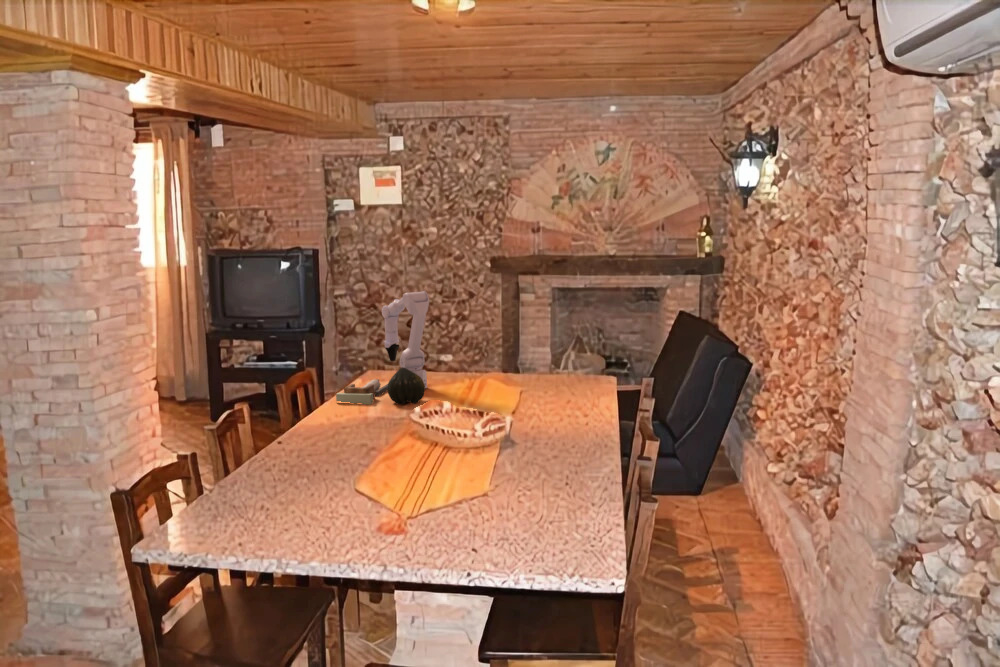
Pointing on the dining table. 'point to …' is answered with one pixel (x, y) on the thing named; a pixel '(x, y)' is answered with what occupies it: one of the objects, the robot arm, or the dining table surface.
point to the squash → (406, 387)
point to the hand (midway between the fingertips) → (392, 360)
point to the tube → (376, 384)
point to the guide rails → (381, 390)
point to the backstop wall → (355, 397)
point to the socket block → (359, 389)
